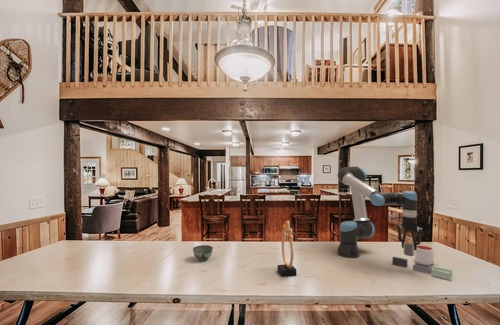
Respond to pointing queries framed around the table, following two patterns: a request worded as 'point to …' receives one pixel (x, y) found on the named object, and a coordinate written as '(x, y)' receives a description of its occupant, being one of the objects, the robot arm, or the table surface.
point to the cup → (424, 255)
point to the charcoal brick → (399, 261)
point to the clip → (422, 268)
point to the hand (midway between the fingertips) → (409, 254)
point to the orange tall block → (408, 248)
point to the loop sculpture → (287, 268)
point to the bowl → (202, 252)
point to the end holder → (442, 273)
